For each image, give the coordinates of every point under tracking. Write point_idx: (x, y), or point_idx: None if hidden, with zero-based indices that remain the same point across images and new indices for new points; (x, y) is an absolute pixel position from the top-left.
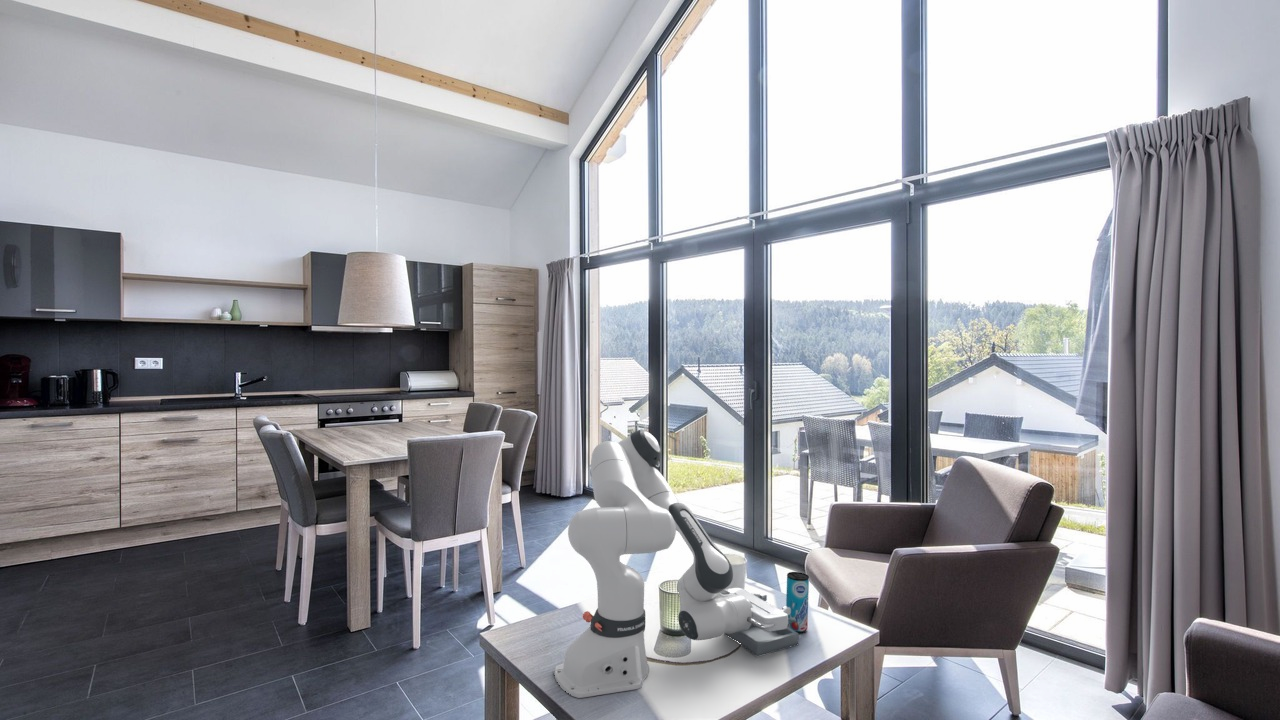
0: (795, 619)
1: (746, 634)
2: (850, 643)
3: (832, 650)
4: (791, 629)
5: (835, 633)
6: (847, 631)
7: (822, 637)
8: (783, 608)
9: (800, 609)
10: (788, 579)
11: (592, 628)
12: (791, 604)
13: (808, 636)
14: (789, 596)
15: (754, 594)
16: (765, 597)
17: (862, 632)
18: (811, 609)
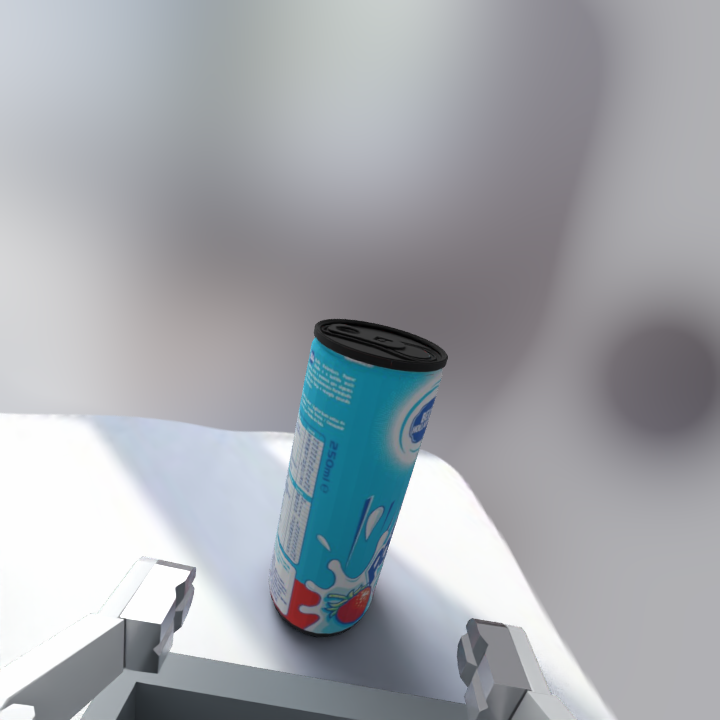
0: (367, 579)
1: None
2: (491, 533)
3: (543, 632)
4: (427, 702)
5: (416, 510)
6: (417, 480)
7: (427, 565)
8: (510, 692)
9: (395, 519)
10: (361, 374)
11: None
12: (362, 520)
13: (400, 605)
14: (354, 480)
15: (36, 681)
16: (185, 591)
17: (434, 464)
18: (257, 437)
